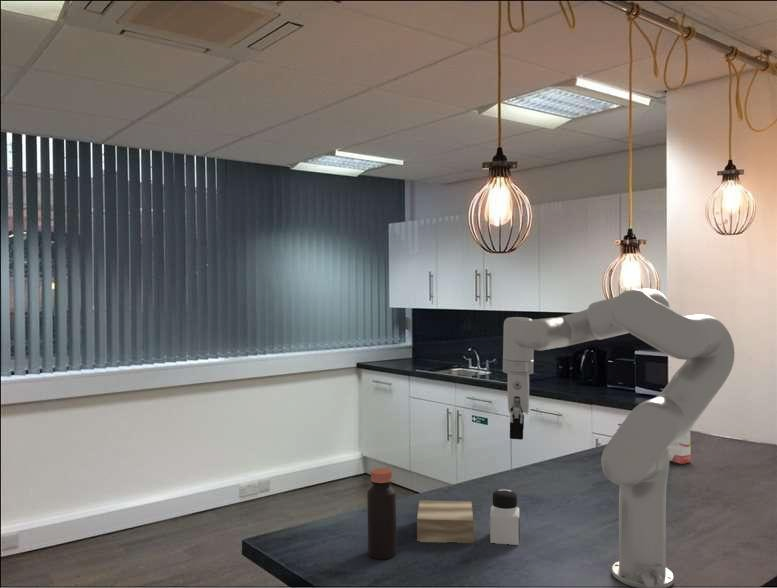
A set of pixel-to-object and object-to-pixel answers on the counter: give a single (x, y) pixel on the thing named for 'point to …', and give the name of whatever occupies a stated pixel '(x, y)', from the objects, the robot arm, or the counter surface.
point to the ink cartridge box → (680, 450)
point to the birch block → (445, 521)
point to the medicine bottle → (504, 518)
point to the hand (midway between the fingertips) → (516, 433)
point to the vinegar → (381, 515)
